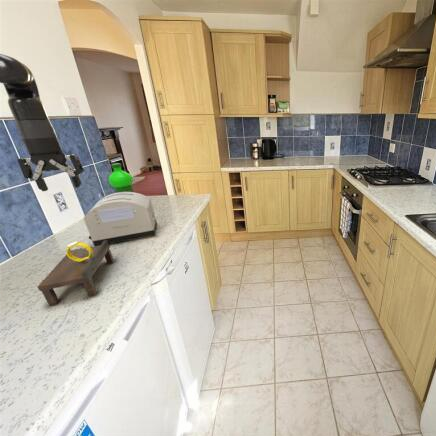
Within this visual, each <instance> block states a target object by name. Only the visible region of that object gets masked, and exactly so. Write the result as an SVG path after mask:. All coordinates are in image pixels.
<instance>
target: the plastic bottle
mask: <svg viewBox="0 0 436 436" xmlns="http://www.w3.org/2000/svg"><path fill="white" fill-rule="evenodd" d="M110 167H111V169H113V172H112V173H111V174H110V175H109V176H108V183H109V185H110V186H111V187H113V189H114V191H115V192H114V193H118V192H134V188H133V186H132V183H133V180H134V178H133V176H132V175H131V174H130V173H128V172H127V171H124V170H123V169H122V167H123V165H122V162H115V163H111V164H110ZM134 193H135V192H134Z"/></svg>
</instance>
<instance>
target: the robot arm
mask: <svg viewBox="0 0 436 436" xmlns="http://www.w3.org/2000/svg"><path fill="white" fill-rule="evenodd" d="M0 84H2V85H3V87H4V89H5V91H6V95H7V96H8V99H7V104H8V107H9V109H10V112H11V115H12V117H13V118H14V120H15V123H16V127H17V131H18V133H19V136H20V137H21V139H22V142H23V144H24V146H25V148H26V150H27V153H28V154H29V155H30V157H20V158H18V159H17V162H18V165H19V168H20V170H21V173H22V175H23V178H25V179H27V180H28V179H31V180H34V182H35V184H36V186H37V188H38V189H39V190H40V191H41V192H47V191H48V190H49V187H48V185H47V183H46V181H45V178H44V177H43V175H44V174H45V173H46V172H50V171H60V170H61V171H62V172H64V173H66V174H68V175H69V176H70V179H71V182H72V184H73V186H74V188H75V189H76V188H77V189H78V188H80V187H81V186H82V181H81V179H80V176H79V175H81V174H82V173H84V172H85V169H84V167H83V165H82V163H81V160H80V159H79V156H78V155H77V154H76V153H73V154H69V155H68V154H67V155H65V153H64V152H63V148H62V146H61V144H60V141H59V138H58V136H57V133H56V130H55V129H54V126H53V125H52V123H51V120H50V118H49V116H48V114H47V111H46V109H45V106H44V104H43V103H42V100H41V94H40V92H39V88H38V84H37V82H36V79H35V76H34V73H33V72H32V71H31V69H30V68H29V67H28V66H27V65H25V63H23V62H21V61H20V60H18V59H16V58H14V57H12V56H10V55H6V54H2V53H0ZM67 161H68V162H70V163H71V164H72V165H73V168H72V166H71V165H69V164H68V163H67ZM32 164H34V165H35V166H36V167H35V169H34V172H33V169H32V167H31V165H32Z"/></svg>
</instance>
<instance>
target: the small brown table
mask: <svg viewBox="0 0 436 436" xmlns="http://www.w3.org/2000/svg"><path fill="white" fill-rule="evenodd" d="M89 247H90V248H91V249H92V252H93V253H92V256H91V257H90V258H89V259H86V260H83V261H81V262H78V261H74V260H72V259H70V258H69V257H68V256H67V253H66V254H65V255H64V256H63V258H61V260H59V262H58V263H57V264H56V265H55V267H53V269H52V270H51V271H50V272H49V274H47V275H46V277H45V278H43V280H42V281H41V282H40V283H39V284H38V285H37V290H38V291H39V292H41V293H42V295H43V297H44V299H45V300H46V302H47V304H48V306H49V307H52V306H56V305H58V304H59V302H60V299H59V297H58V295H57V293H56V291H55V289H58V288H62V287H68V286H72V285H76V284H81V283H82V285H83V288H84V289H85V292H86V293H87V296H88V297H89V298H92V297H95V296H97V294H98V291H97V288H96V285H95V283H94V281H93V279H92V278H93V277H94V274H95V273H96V271H97V270H98V268H99V266H100V265H101V263H102V261H103V260H104V259H105V261H106V264H107V265H109V264H114V262H115V260H114V256H113V255H112V251H111V249H110V248H111V247H110V244H108V241H107V240H105V241H103V243H102V244H101V245H99V246H94V245H93V246H89ZM70 252H71V254H72V255H73V256H75V257H77V258H81V259H83V258H85V257H88V256H89V252H88V250H87V249H86V248H84V247H82V248H77V249H70Z"/></svg>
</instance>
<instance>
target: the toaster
mask: <svg viewBox="0 0 436 436" xmlns="http://www.w3.org/2000/svg"><path fill="white" fill-rule="evenodd" d="M98 198H99V199H100V200H98V201H97V202H96V203H95V204H94V205H93V206H92V208H91V209H90V210H88V212H87V213H86V214H85V216H84V217H83V221H84V224H85V226H86V229H87V231H88V234H89V236H88V240H91V241H92V243H93V246H99V245H101V244H102V243H103V241H105V240H107V241H108V244H109V245H110V244H115V243H120V242H125V241H131V240H132V241H133V240H137V239H142V238H148V237H154V236H156V233H157V227H158V226H157V225H158V221H157V216H156V214H155V210H154V207H153V206H154V205H153V203H152V200H151V198H150V197H149V196H148V195H145V194H142V193H138V192H118V193H116V192H114V193H111V194H108V195H106V196H102V194H101V193H98Z"/></svg>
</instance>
